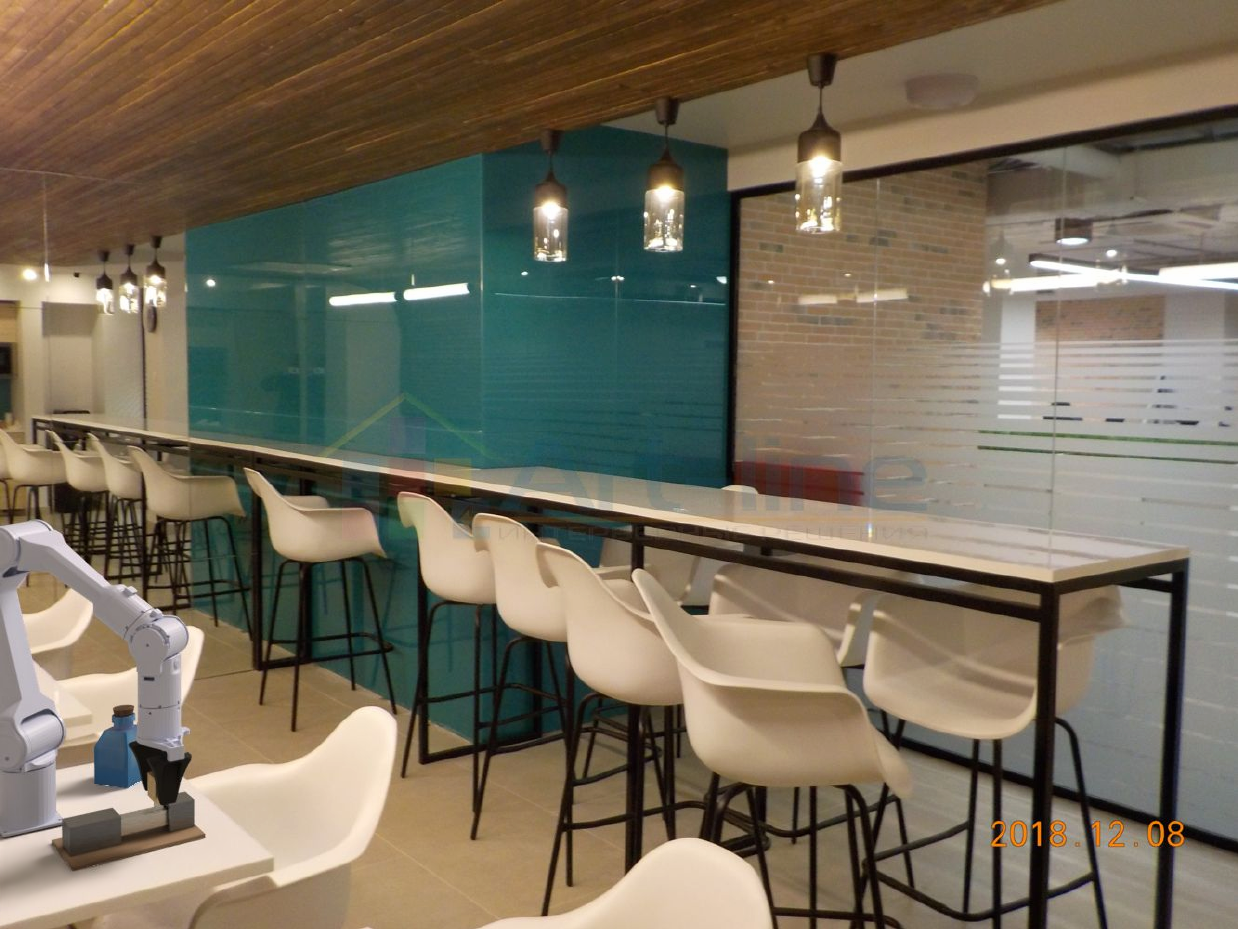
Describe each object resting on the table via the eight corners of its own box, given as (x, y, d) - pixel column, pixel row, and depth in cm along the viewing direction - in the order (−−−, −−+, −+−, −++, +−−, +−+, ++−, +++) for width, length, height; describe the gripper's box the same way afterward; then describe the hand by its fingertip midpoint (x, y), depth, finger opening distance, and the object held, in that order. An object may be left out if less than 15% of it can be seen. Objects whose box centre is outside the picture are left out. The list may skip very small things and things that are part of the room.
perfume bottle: (128, 788, 167) (127, 714, 167) (94, 784, 169) (93, 711, 168) (152, 775, 173) (152, 703, 173) (119, 771, 175) (119, 700, 174)
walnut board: (52, 843, 147) (51, 839, 147) (179, 813, 158) (179, 810, 158) (72, 871, 138) (72, 867, 138) (205, 837, 150) (205, 834, 150)
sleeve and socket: (62, 847, 144) (62, 818, 144) (185, 818, 155) (185, 791, 155) (69, 857, 141) (69, 828, 141) (194, 826, 152) (194, 799, 152)
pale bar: (106, 831, 148) (105, 781, 147) (178, 814, 154) (178, 766, 154) (113, 839, 145) (113, 788, 145) (187, 821, 152) (187, 773, 151)
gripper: (206, 710, 147) (206, 805, 148) (171, 687, 158) (171, 775, 159) (153, 719, 142) (154, 817, 143) (121, 695, 153) (122, 786, 154)
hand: (159, 796), depth 151 cm, fingers open, 6 cm apart
